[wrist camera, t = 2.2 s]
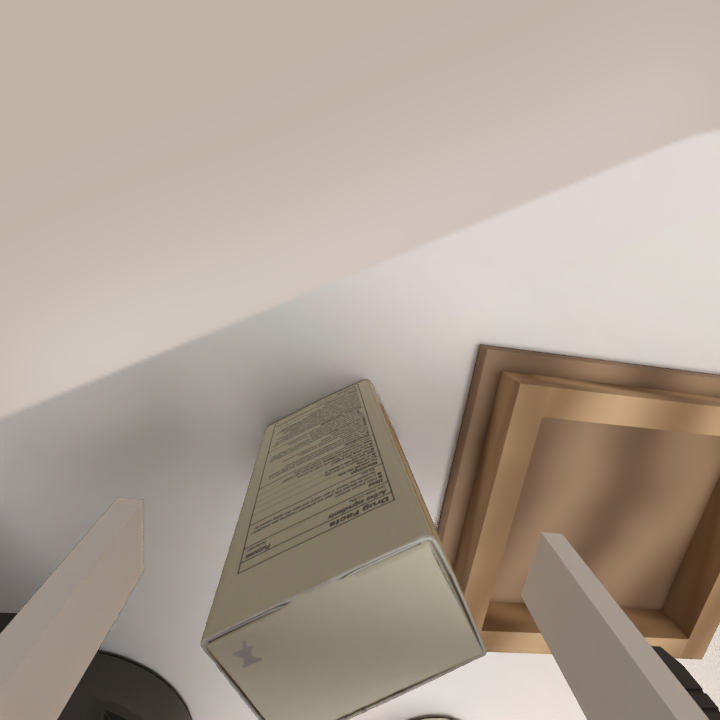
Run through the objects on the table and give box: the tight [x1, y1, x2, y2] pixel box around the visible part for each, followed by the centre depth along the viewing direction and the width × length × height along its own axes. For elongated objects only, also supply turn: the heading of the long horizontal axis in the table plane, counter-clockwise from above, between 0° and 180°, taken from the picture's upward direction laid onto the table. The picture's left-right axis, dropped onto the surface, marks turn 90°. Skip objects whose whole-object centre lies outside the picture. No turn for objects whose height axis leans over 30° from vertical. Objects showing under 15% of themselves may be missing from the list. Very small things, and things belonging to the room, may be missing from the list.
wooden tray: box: [437, 345, 720, 659], centre depth 22 cm, size 18×18×3 cm
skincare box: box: [201, 380, 487, 720], centre depth 15 cm, size 6×4×12 cm
